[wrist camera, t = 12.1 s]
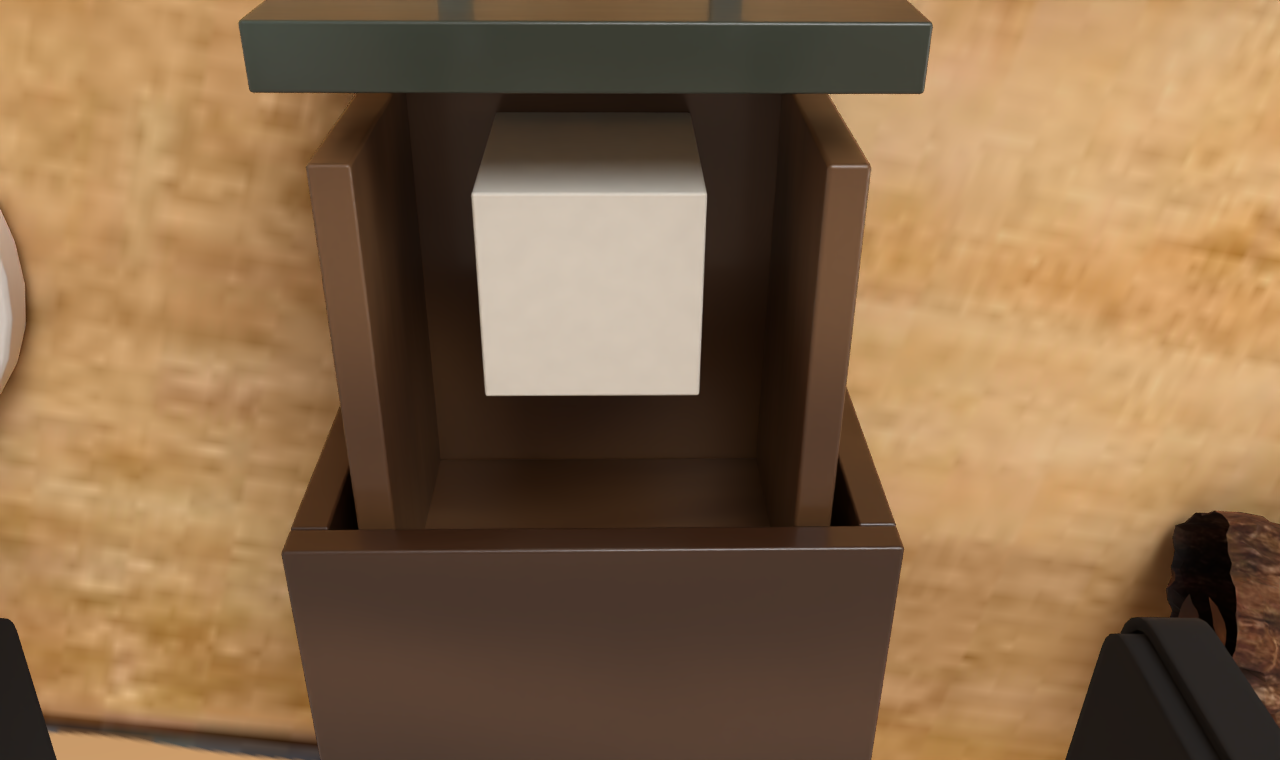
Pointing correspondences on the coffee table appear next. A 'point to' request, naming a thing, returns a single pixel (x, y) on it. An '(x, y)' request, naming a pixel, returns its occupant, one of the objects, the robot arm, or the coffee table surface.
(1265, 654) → the driftwood
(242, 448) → the coffee table surface
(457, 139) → the drawer
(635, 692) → the cabinet
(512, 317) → the block
